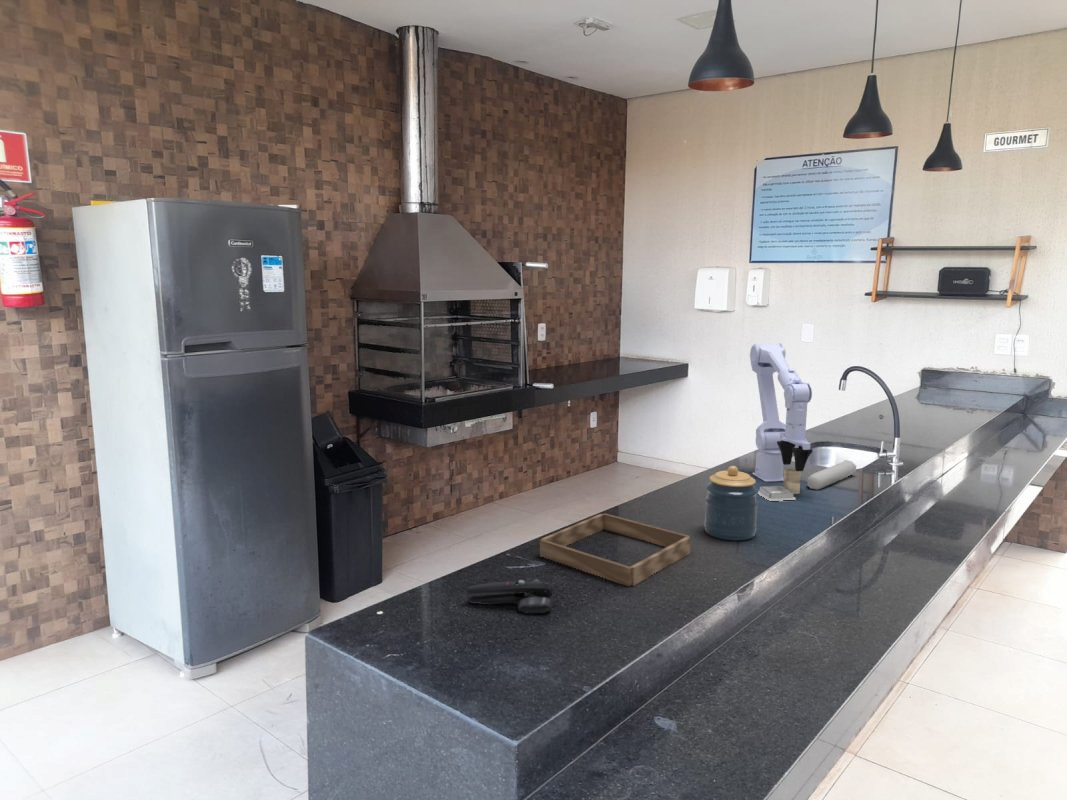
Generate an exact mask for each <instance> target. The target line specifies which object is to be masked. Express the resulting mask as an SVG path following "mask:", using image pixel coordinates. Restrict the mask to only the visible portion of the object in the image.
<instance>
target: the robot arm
mask: <svg viewBox="0 0 1067 800" xmlns="http://www.w3.org/2000/svg"><path fill="white" fill-rule="evenodd" d="M785 347H786V346H784V345H783V343H753V345H751V347H750V353H749V359H750V360H749V361H750V366H751V371H752V372H754V373H756V378H757V379H756V380H757V386H758V392H759V394H758V395H759V400H760V407H761V414H762V421H763V422H762V423H761V424H760V425H758V426H757V428H756V429H755V445H756V448H757V449H758V451H757V452H756V454H755V467H754V468H755V469H754V472H752V475H754V476H755V477H757V478H758V479H760V480H762V481H764V483H765V482H766V483H767V482H784V465H787V466H788V465H791V463H792V460H793V457H794V468H795V470H796V471H801V472H804V469H805V466H806V463H807V461H808V459H809V457H810V455H812V453H813V448H811V442H809V441H808V440H807V438H806V432H807V431H806V428H807V414H808V413H807V412H808V403H810V402H811V400H812V396H813V391H812V387H811V386H812V385H810V383H808V382H805V381H803V380H802V379H801V377H800V376H799V374H798V373H797V371H796V369H794V368H791V367H789V363H788V362H787V360H786V348H785ZM774 373H777V381H778V382H779V384H780V386H781V387H782V389H783V390H784V391H783V398H784V407H785V408H786V411H785V412H786V415H785V423H783V422H782V421H781V420H780V417H779V415H780V414H779V410H778V409H779V408H778V401H777V396H776V388H775V382H774Z"/></svg>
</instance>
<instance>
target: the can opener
mask: <svg viewBox="0 0 1067 800" xmlns="http://www.w3.org/2000/svg"><path fill="white" fill-rule="evenodd" d="M553 591H554V589H553V586H552V584H551V583H550V582H547V581H540V580H539V579H533V580H532V581H525V580H522V579H519V580H518V581H499V582H498V581H497V582H489V583H481V584H480V583H479V584H474V585H470V586H468V587H466V593H467V594H471V596H470V597H469V598H468V599H467V601H468V600H469V601H472V602H481V603H489V604H488V605H497V604H499V605H500V604H506V603H507V604H510V603H516V604H517V605H516V606H517V610H518V611H519V612H520V611H522V612H528V613H540V614H544V613H547V612H549V611H551V609H552V607H553V604H554V601H553V600H552V599H551V598H552V596H553ZM474 594H476V595H474ZM522 612H521V613H522Z"/></svg>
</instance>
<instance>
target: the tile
mask: <svg viewBox="0 0 1067 800" xmlns="http://www.w3.org/2000/svg"><path fill="white" fill-rule="evenodd" d="M771 493H783V492H781V491H774V492H771ZM758 494H759V496H760V497H761V496H762V497H761V498H763V497H764V498H765V500H766V499H767V500H769V501H779V502H784V501H783V500H795V501H796V497H794V496H793V498H782V499H771V498H768V497H766V496H765V495H763V494H761V493H760V490H759V492H758V493H757V494H756V495H758ZM764 498H763V499H764ZM767 500H766V501H767ZM769 501H768V502H769Z"/></svg>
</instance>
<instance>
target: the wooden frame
mask: <svg viewBox="0 0 1067 800" xmlns="http://www.w3.org/2000/svg"><path fill="white" fill-rule="evenodd" d="M603 530H604V531H608V532H612V533H615V534H617V535H618V534H619V535H622V536H626V537H630V538H632V539H633V538H634V539H636V540H641V541H643V540H644V541H643V542H647V543H650V542H651V543H650V544H654V545H658V546H662V547H664V548H663V549H661V550H659V551H657V552H655V553H653V554H652V555H649V556H648V557H646V558H644V559H642V560H639V561H638V562H636V563H635V564H633V565H631V566H629V565H626V564H622V563H619V562H616V561H614V560H610V559H607V558H604V557H599V556H597V555H595V554H594V555H593V554H592V553H591V554H590V553H587V552H584V551H581V550H578V549H575V548H572V547H568V546H570V545H572V544H574V543H576V541H577V542H578V541H581V540H583V539H586V538H588V537H590V536H592V535H594V534H596V533H599V532H602V531H603ZM589 535H590V536H589ZM587 536H588V537H587ZM585 537H586V538H585ZM691 537H692V536H691V535H688V534H685V533H680V532H677V531H672V530H669V529H666V528H662V527H658V526H654V525H651V524H646V523H643V522H639V521H636V520H632V519H627V518H624V517H621V516H616V515H613V514H609V513H600V514H597V515H594V516H592V517H589V518H588V519H585V520H582V521H580V522H578V523H575V524H574V525H570V526H569V527H566V528H563V529H561V530H559V531H555V532H554V533H551V534H549V535H547V536H544V537H542V538H541V539H540V540H539V557H540V558H542V557H544V558H543V559H545V558H546V560H548V559H550V560H549V561H551V560H553V561H552V562H554V561H555V562H554V563H557V562H559V563H558V564H560V563H562V564H561V565H563V564H565V565H564V566H566V565H568V566H567V567H569V566H571V567H570V568H572V567H573V569H575V568H576V569H575V570H578V569H579V571H581V570H582V572H585V573H587V572H588V573H587V574H590V573H591V574H590V575H593V574H594V576H596V575H597V577H599V576H600V577H599V578H602V577H603V578H602V579H605V578H606V580H608V581H612V582H614V583H617V584H620V585H622V586H627V587H631V586H636V585H638V584H639V583H641V582H643V581H645V580H646V579H649V578H650V577H651V575H652V576H653V575H655V574H656V572H657V573H658V571H659V572H660V571H662V570H664V569H665V568H668V567H669V566H671V565H672V564H674V563H675V562H678V561H680V560H682V559H683V558H684V557H686V556H688V555H690V553H691ZM569 544H570V545H569ZM567 545H568V546H567ZM670 564H671V565H670ZM668 565H669V566H668ZM663 568H664V569H663ZM654 573H655V574H654Z"/></svg>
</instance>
